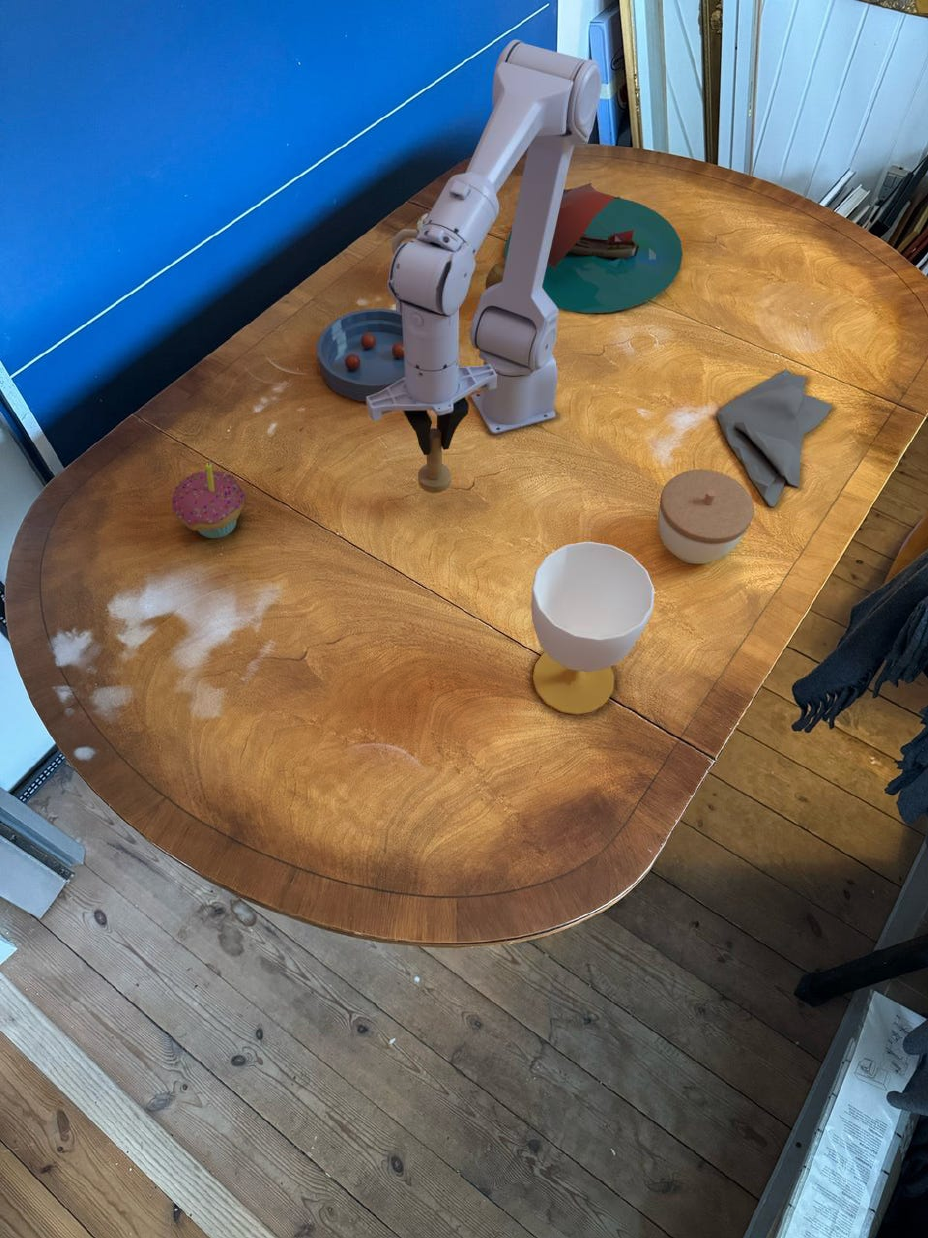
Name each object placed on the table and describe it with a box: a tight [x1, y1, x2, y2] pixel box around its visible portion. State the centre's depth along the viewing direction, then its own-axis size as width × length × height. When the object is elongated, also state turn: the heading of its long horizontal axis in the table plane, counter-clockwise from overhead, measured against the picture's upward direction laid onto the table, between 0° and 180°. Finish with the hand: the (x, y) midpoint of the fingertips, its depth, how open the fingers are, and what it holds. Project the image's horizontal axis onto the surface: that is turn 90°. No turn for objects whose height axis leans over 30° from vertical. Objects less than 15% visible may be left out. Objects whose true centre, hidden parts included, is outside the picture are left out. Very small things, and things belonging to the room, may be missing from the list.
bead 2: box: [361, 333, 376, 349], centre depth 128 cm, size 2×2×2 cm
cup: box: [530, 541, 656, 715], centre depth 92 cm, size 12×12×17 cm
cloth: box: [716, 368, 833, 508], centre depth 120 cm, size 26×14×2 cm, turn 151°
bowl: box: [316, 308, 405, 402], centre depth 126 cm, size 16×16×4 cm
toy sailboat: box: [504, 182, 683, 314], centre depth 138 cm, size 28×28×11 cm
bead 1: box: [345, 354, 360, 370], centre depth 125 cm, size 2×2×2 cm
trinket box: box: [657, 468, 755, 565], centre depth 106 cm, size 11×11×9 cm
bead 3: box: [392, 343, 404, 359], centre depth 127 cm, size 2×2×2 cm
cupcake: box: [171, 459, 246, 539], centre depth 106 cm, size 9×8×12 cm
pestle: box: [417, 427, 452, 494], centre depth 106 cm, size 4×4×8 cm
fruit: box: [485, 260, 506, 290], centre depth 131 cm, size 6×6×8 cm
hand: (433, 446), depth 104 cm, fingers closed on pestle, 2 cm apart
